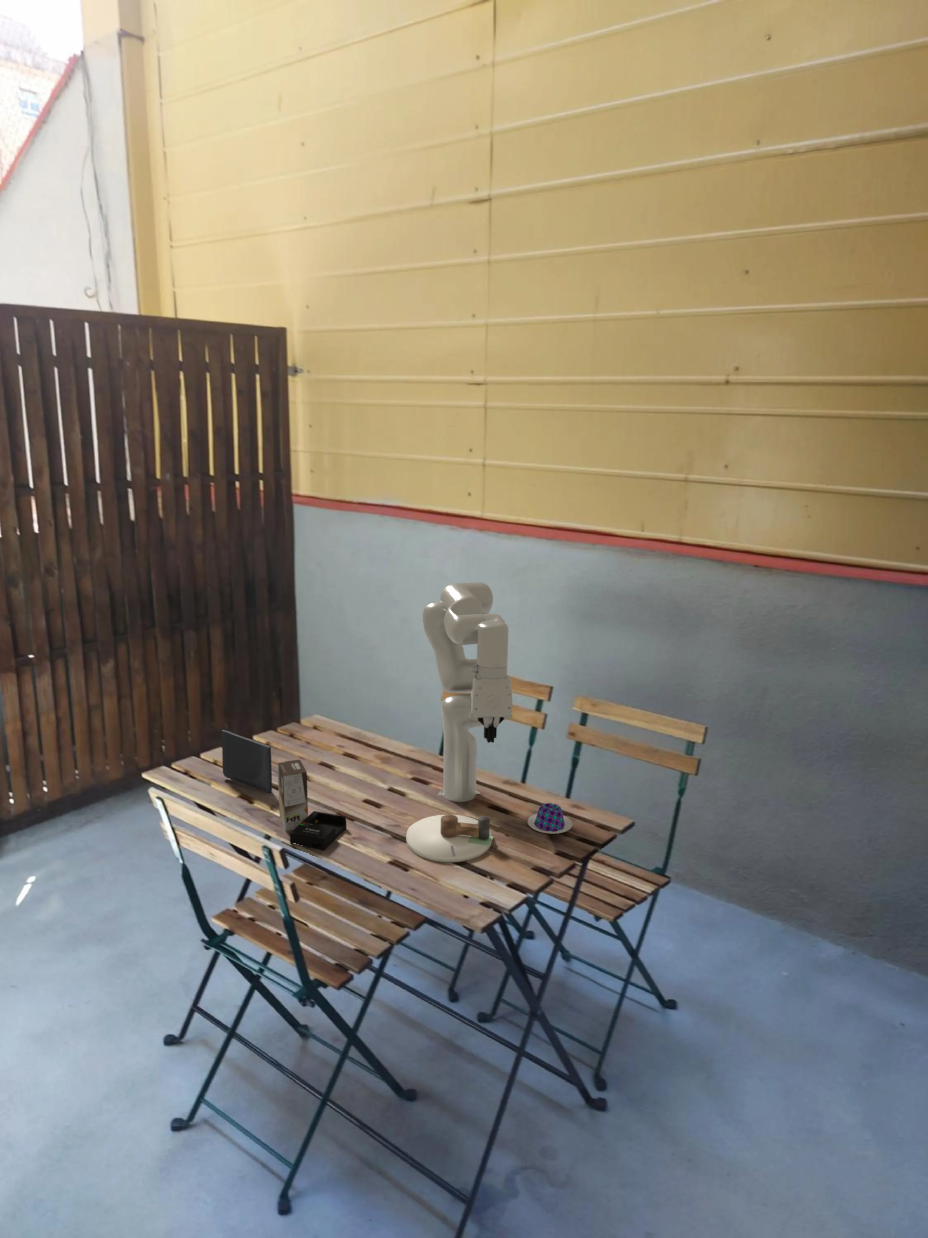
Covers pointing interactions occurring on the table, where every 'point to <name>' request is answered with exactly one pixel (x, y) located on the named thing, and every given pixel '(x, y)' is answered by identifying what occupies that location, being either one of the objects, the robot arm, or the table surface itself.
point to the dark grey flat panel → (247, 761)
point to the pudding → (550, 819)
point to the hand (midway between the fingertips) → (489, 740)
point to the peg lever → (465, 827)
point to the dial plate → (444, 841)
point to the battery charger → (318, 830)
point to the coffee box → (292, 793)
